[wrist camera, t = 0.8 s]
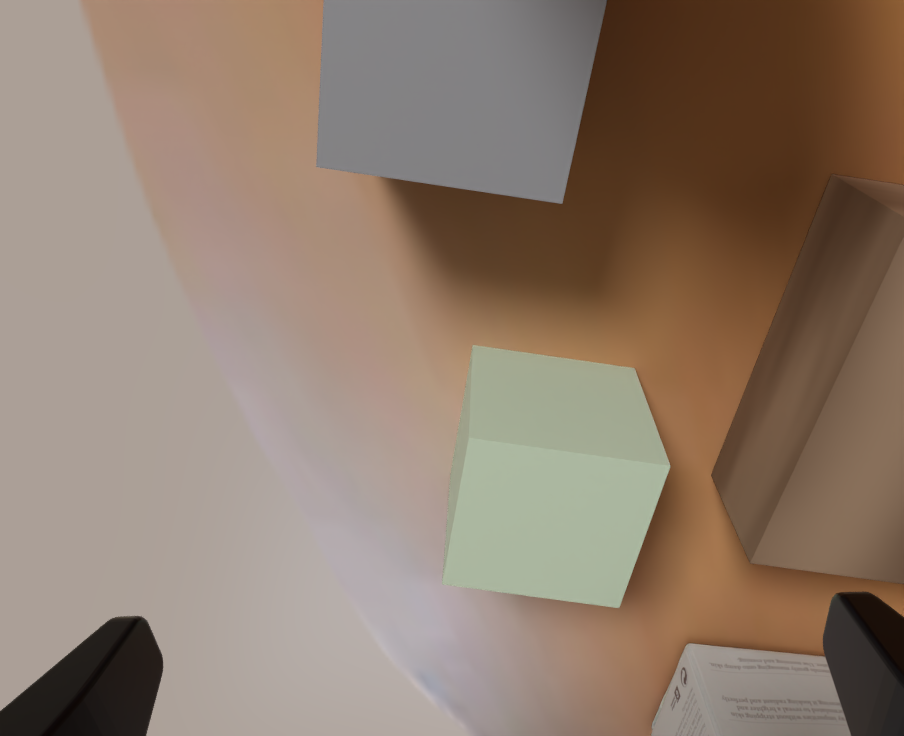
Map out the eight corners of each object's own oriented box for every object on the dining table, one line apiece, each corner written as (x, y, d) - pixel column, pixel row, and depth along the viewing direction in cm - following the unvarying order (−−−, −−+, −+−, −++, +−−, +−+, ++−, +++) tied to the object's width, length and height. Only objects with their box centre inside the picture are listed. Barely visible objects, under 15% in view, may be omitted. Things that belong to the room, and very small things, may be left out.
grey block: (588, -72, 16) (625, -86, 12) (544, 149, 19) (562, 203, 14) (371, -107, 16) (329, -135, 12) (356, 120, 19) (316, 166, 14)
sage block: (634, 366, 22) (670, 465, 17) (595, 493, 24) (619, 607, 20) (472, 343, 22) (468, 437, 17) (450, 473, 24) (441, 584, 20)
